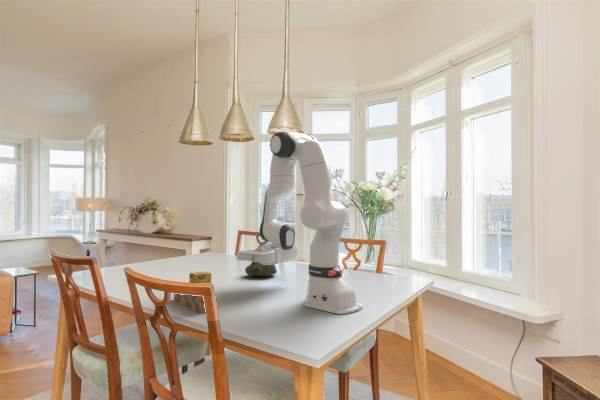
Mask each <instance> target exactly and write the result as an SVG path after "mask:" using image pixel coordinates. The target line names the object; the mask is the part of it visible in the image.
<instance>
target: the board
mask: <svg viewBox="0 0 600 400" xmlns="http://www.w3.org/2000/svg"><path fill="white" fill-rule="evenodd" d="M173 300H174V301H176V302H177V303H178V304H179V303H180V304H181V305H183V306H185V307H187V308H188V309H190V310H192V311H194V312H196V313H198V314H200V315H201V314H206V313H205V308H204V301H203V297H202V296H192V295H180V294H174V293H173Z"/></svg>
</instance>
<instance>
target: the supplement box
mask: <svg viewBox="0 0 600 400" xmlns="http://www.w3.org/2000/svg"><path fill="white" fill-rule="evenodd" d="M189 283H210V284H211V285H212V272H207V271H204V270H202V271H195V272H189ZM189 283H188V284H189Z"/></svg>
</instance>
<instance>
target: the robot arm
mask: <svg viewBox="0 0 600 400" xmlns="http://www.w3.org/2000/svg"><path fill="white" fill-rule="evenodd" d="M270 138H271V139H270V141H269V148H270V152H271V153H272V156H271V160H270V167H269V169H270V170H269V182H268V187H267V189H266V190H265V191H266V192H265V195H264V196H265V197H264V203H263V213H262V220H261V223H260V227H259V236H260V238H261V239H262V240H263V241H264V242H267V244H262V245H260V246H259V248H257V249H256V250H252V249H251V250H250V249H249V250H238V251H236V260H237V261H244V262H245V261H246V262H251V263H252V262H259V263H261V264H262V265H271V264H275V265H278V264H283V263H289V262H291V261H294V260H295V259H296V258H297V257H298V256H299V253H300V252H299V249H300V248H299V246H298V244H297V242H296V237H295V236H296V231H295V228H294V226H293V225H292V224H290V223H286V222H281V221H278V220H277V211H278V203H279V201H280V200H281V199H282V198H284V197H286V196H287V195H289V194H291V192H292V191H293V190H294V188H295V185H296V164H297V162H298V163H299V170H300V173H301V174H300V175H301V178H302V183H303V188H304V199H303V206H302V207H301V209H300V213H299V216H300V217H299V218H300V221H301V223H302V225H303V226H304V227H306V228H308V229H310V230H313V231H316V232H315V235H314V238H313V239H312V241H311V243H310V247H309V249H310V250H309V265H308V268H307V269H308V270H307V271H308V276H309V278H308V283H307V291H306V296H305V299H304V307H307V308H310V309H314V310H320V311H323V312H329V313H331V314H332V313H333V314H338V315H343V314H344V315H345V314H346V315H347V314H350V313H355V312H358V311H361V310H362V309H363V307H364V306H363V304H362V303H360V302H357V295H356V291H355V289H354V288H353V287H352V285H350V284H349V283H348V281H347V280H346V279H345V278H344V277H343V274H342V273H343V272H344V271H345V269H344V268H343V269H341V266H340V265H339V264H340V263H339V260H340V259H339V258H340V257H339V256H340V244H341V243H340V242H341V239H342V235H343V230H344V227H345V225H346V222H347V220H348V218H349V211H348V208H346V206H345V205H343V204H342V203H340V202H338V201H336V200H335V201H334V200H331V188H332V186H333V179H332V175H331V173H330V172H331V171H330V168H329V163H328V159H327V156H326V154H325V151H324V148H323V146H322V144H321V142H320V141H318V139H317V137H315V136H313V135H312V134H309V133H308V134H305V133H301V132H298V131H278V132H275V133H274V134H273V135H272V136H271V137H270ZM268 242H269V244H268Z"/></svg>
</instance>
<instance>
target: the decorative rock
mask: <svg viewBox="0 0 600 400" xmlns="http://www.w3.org/2000/svg"><path fill="white" fill-rule="evenodd" d="M244 271H245V273H246V274H247V275H248V276H250V277H251V276H252V277H262V278H267V277H269V276H271V275H272V276H273V275H276V274H277V268H276V264H271V265H262V264H261V263H259V262H252V261H251V263H250V264H249V265H247V266H246V267H245V269H244Z"/></svg>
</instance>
